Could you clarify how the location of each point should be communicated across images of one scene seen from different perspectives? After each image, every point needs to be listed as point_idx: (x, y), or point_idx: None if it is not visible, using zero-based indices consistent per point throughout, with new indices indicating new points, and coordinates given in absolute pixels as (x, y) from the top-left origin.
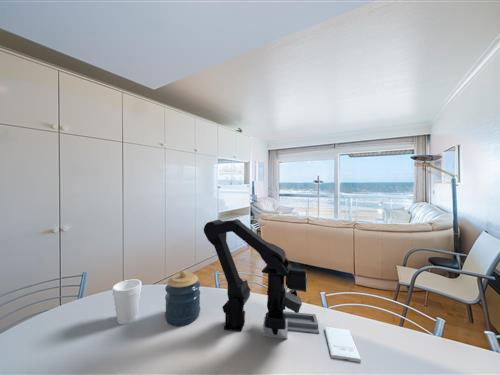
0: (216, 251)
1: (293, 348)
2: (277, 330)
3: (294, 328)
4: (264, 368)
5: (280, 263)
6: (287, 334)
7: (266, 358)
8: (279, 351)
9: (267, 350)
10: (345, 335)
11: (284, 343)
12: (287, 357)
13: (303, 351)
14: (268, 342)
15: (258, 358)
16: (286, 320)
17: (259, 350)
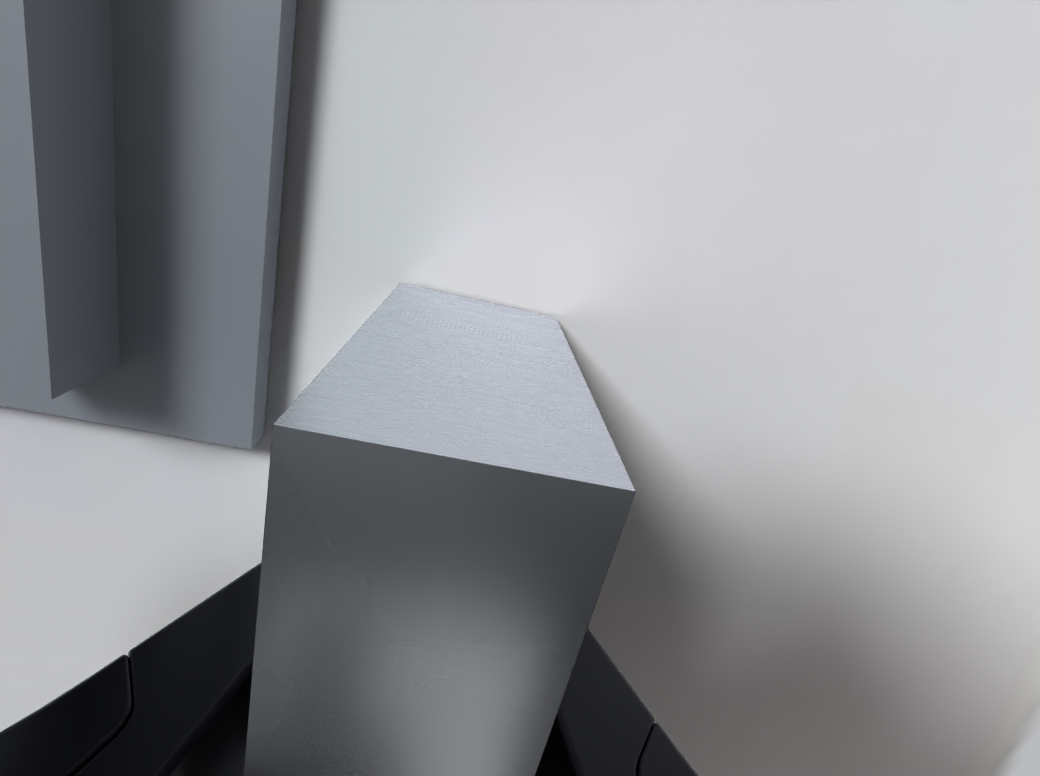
0: None
1: (825, 261)
2: (589, 645)
3: (231, 30)
4: (1009, 718)
5: None
6: (566, 342)
7: (879, 687)
8: (818, 516)
9: (752, 665)
10: None
11: (665, 401)
12: (972, 422)
13: (965, 57)
14: (600, 637)
15: (847, 762)
16: (391, 490)
17: (727, 747)
